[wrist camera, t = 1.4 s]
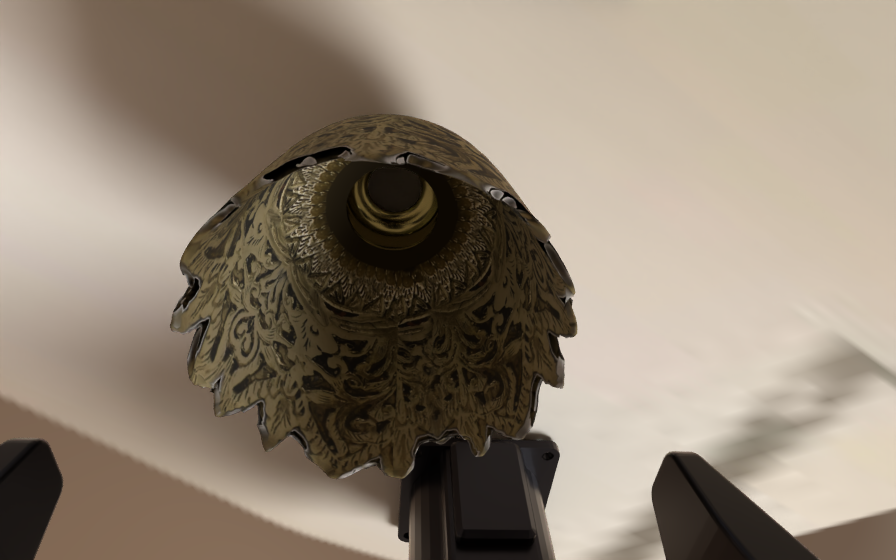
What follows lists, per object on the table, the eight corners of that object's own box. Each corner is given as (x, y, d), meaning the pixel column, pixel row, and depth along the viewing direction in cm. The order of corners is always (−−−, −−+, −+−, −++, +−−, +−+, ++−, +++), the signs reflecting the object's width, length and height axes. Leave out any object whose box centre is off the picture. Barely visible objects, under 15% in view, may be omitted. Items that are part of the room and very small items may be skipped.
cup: (322, 308, 19) (270, 511, 12) (227, 99, 15) (78, 228, 9) (532, 259, 19) (599, 445, 12) (488, 28, 15) (550, 106, 8)
